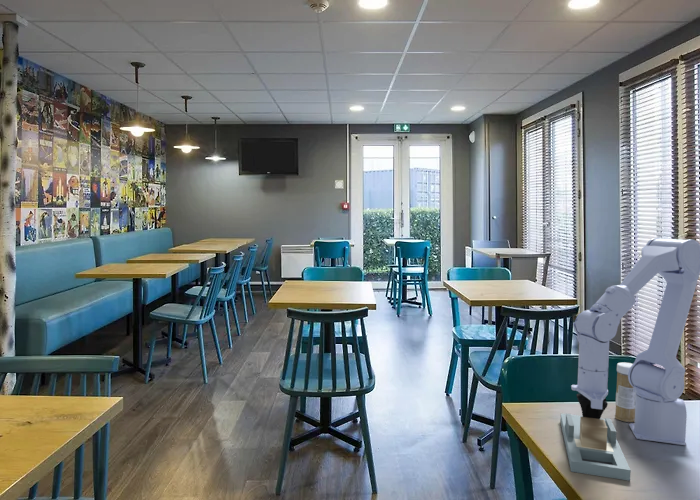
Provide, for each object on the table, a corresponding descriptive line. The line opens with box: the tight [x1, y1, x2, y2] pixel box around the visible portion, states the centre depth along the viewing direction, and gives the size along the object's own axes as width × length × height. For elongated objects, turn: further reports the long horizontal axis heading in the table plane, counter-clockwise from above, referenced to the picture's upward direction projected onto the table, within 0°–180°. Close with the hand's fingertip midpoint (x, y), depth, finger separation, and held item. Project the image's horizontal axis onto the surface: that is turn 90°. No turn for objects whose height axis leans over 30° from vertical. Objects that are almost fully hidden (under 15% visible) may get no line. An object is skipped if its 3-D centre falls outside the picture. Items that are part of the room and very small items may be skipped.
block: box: [580, 417, 607, 450], centre depth 103 cm, size 4×4×4 cm
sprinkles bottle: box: [614, 361, 636, 423], centre depth 121 cm, size 5×5×13 cm
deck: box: [560, 412, 631, 481], centre depth 105 cm, size 10×25×4 cm, turn 162°
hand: (590, 430), depth 107 cm, fingers closed
